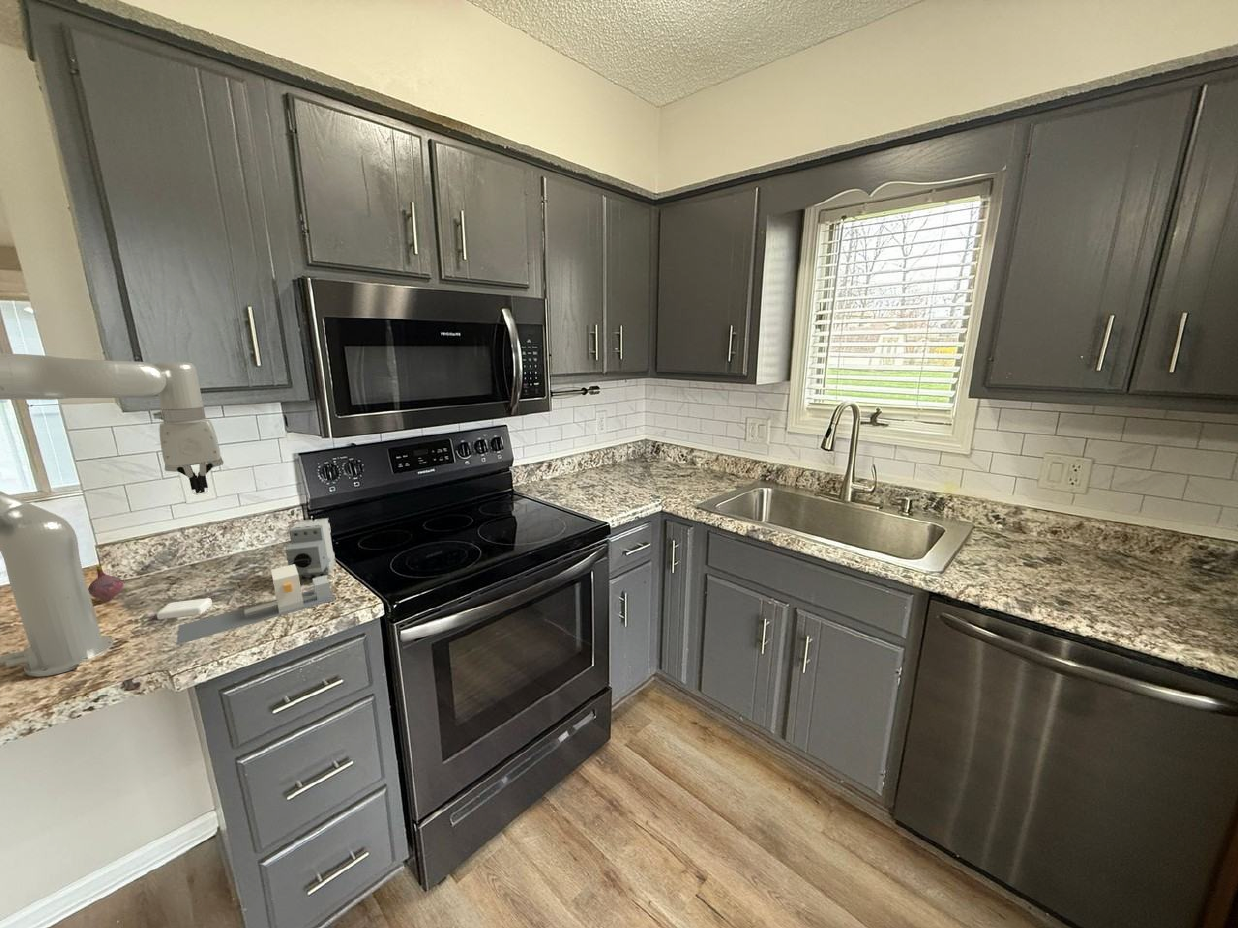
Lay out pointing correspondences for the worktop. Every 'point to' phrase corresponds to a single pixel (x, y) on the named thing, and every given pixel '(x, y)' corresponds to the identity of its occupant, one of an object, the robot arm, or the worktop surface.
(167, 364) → the robot arm
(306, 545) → the circuit breaker
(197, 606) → the soap
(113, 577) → the vegetable
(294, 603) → the block
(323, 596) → the end stop
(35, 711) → the worktop surface
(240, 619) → the board
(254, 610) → the rail
